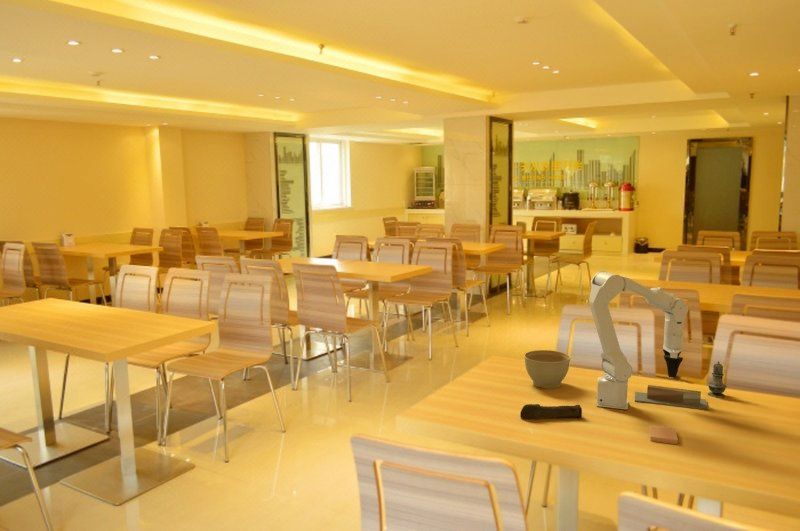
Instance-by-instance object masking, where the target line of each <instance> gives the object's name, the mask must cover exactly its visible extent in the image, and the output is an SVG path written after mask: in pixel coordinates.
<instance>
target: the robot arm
mask: <svg viewBox="0 0 800 531" xmlns="http://www.w3.org/2000/svg"><path fill="white" fill-rule="evenodd" d="M590 286H591V287H590V292H589V299H588V301H589V302H588V303H589V304H588V305H589V308H590V311H591V314H592V317H593V321H594V324H595V327H596V328H595V329H596V330H597V332H596V333H597V335H598V339H599V341H600V342H599V343H600V345H601V348H602V351H603V352H602V353H601V354H600V357H601V361H600V367H601V370H602V371H603V372H604V374H603V375H604V376H598V377H597V393H596V394H595V395H596V397H595V398H596V406H597V407H601V408H609V409H610V408H611V409H618V410H628V409H629V400H628V382H629V379H630V378H631V377H632V374H633V366H632V365H631V364H630V363H629V361H628V360H627V357H626V355H625V354H624V352H623V351H622V350H621V347H620V344H619V343H620V342H619V341H618V337H617V336H618V335H617V333H616V329H615V326H614V323H613V319H612V316H611V313H610V312H611V311H610V309H609V304H610V303H611V302H612V300H614V299H615V298H616V297H617V296H618V295H619V294H621V293H622V292H625V293H626V292H627V291H629V292H631V293H634V294H636V295H637V296H640V297H643V298H644V300H645V302H646V303H647V304H648V305H650V306H652V307H655V308H656V309H659V310H661V311H662V312H664V328H663V329H664V331H663V332H664V333H663V345H662V351H663V353H664V354H663V358H664V361H665V363H666V368H667V369H666V370H667V375H668V378H672V379H673V378H674V379H675V378H676V377H677V374H678V371H679V367H680V365H681V364H682V362H683V360H684V357H680V354H682V351H687V347H686V346H683V345H684V327H685V326H684V325H685V320H686V316H687V314H688V312H689V310H690V308H689V307H688V304H687V302H686V301H685V300H684V299H681V298H679V297H676V295H675V294H673V293H668V292H666V291H664V288H662V287H660V286H658V287H651V288H648V287H646V286H645V285H643V284H641V283H639V282H637V281H635V280H633V279H631V278H629V277H627V276H623V275H620V274H614V273H611V272H608V271H605V270H600V271H598V272H596V273H595V274H594V275H593V277H592V279H591V280H590Z"/></svg>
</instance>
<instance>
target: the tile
mask: <svg viewBox="0 0 800 531" xmlns="http://www.w3.org/2000/svg"><path fill="white" fill-rule="evenodd" d="M648 432H649V440H650V442H655V443H656V442H658V443H665V444H672V445H678V444H679V439H678V434H677V431H676V428H675V427H668V426H667V427H666V426H659V425H650V424H649V425H648Z"/></svg>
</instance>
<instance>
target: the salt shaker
mask: <svg viewBox="0 0 800 531" xmlns="http://www.w3.org/2000/svg"><path fill="white" fill-rule="evenodd" d="M712 368H713V369H712V370H713V371H712V373H711V375H712V379H711V381H710V382H708V383H707V386H708V389H709V391H710V392H708V393H707V395H708V396H710V397H712V398H717V399H724V398H725V397H726V395H725V394H724V392H725V391H726V388H727V387H728V386H727V385H726V384H724V382H723V379H724V374H723V372H724V366H723V365H722V363H720V361H717V363H714V364H713V367H712Z"/></svg>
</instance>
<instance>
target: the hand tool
mask: <svg viewBox="0 0 800 531" xmlns="http://www.w3.org/2000/svg"><path fill="white" fill-rule="evenodd" d="M519 416H520V418H521V419H525V420H540V419H541V418H544V419H545V418H578V419H582V417H583V410H582V406H581V405H580V404H575V405H558V406H556V405H555V406H554V405H552V406H543V405H540V404H539V403H535V404H534V403H533V404H532V403H529V404H528V403H527V404H525V405H523V406H522V408H521V410H520V415H519Z"/></svg>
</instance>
